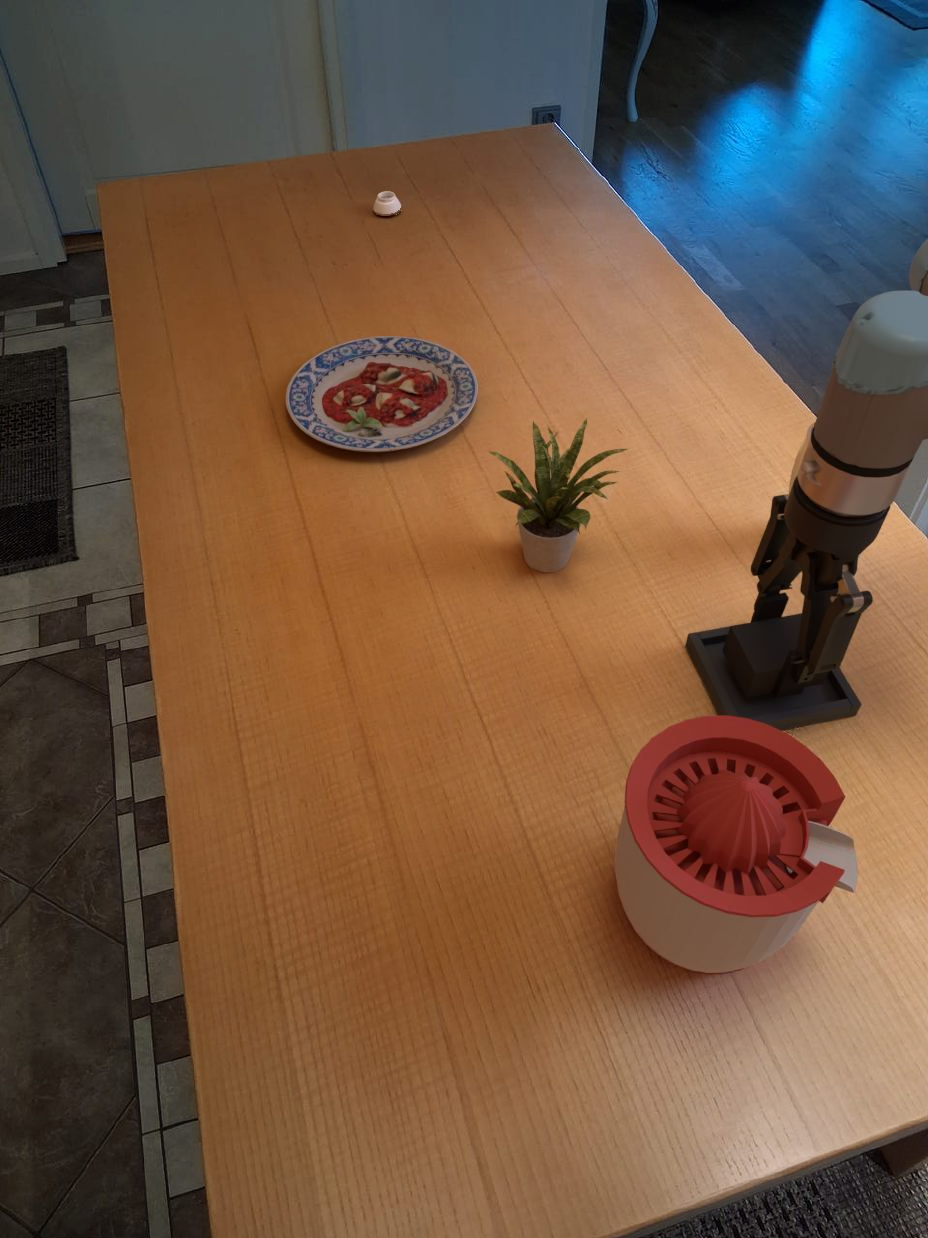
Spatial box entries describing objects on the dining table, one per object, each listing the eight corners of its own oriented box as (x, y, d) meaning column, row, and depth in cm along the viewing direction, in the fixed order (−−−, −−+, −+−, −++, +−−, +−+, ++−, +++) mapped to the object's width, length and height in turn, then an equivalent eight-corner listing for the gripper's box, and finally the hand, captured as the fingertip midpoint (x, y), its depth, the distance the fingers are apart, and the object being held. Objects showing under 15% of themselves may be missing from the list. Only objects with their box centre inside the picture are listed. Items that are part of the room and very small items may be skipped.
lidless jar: (368, 209, 159) (381, 220, 156) (367, 192, 156) (379, 203, 154) (394, 202, 160) (406, 214, 157) (392, 186, 158) (405, 197, 155)
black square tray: (801, 624, 95) (806, 612, 93) (855, 716, 87) (862, 704, 86) (684, 645, 93) (688, 633, 92) (730, 740, 86) (734, 729, 84)
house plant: (646, 563, 101) (668, 449, 89) (559, 626, 95) (570, 513, 83) (556, 500, 108) (565, 386, 96) (470, 555, 103) (468, 441, 90)
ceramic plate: (367, 330, 133) (365, 312, 131) (514, 385, 124) (514, 366, 121) (248, 419, 120) (243, 401, 118) (402, 489, 110) (400, 471, 108)
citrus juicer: (809, 1031, 69) (901, 932, 54) (585, 971, 72) (612, 861, 57) (815, 849, 78) (894, 721, 63) (617, 803, 82) (647, 670, 67)
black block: (796, 637, 91) (806, 612, 88) (823, 684, 87) (835, 659, 84) (721, 651, 90) (730, 625, 87) (745, 698, 86) (755, 673, 83)
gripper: (750, 423, 77) (700, 602, 94) (857, 581, 65) (777, 753, 82) (831, 410, 78) (767, 590, 95) (952, 565, 65) (853, 738, 83)
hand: (772, 665), depth 89 cm, fingers closed on black block, 6 cm apart
